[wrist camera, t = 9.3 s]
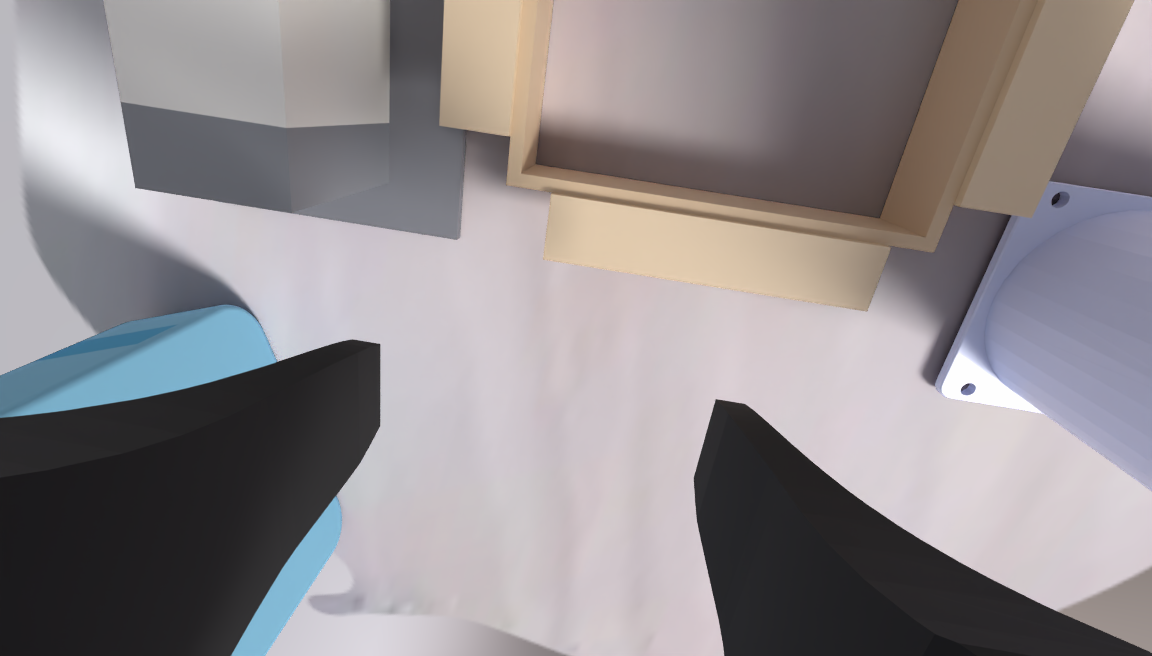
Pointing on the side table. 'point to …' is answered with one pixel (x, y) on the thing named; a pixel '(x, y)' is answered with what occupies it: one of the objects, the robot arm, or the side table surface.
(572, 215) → the carton
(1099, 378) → the robot arm
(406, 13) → the mat
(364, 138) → the capped box
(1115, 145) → the side table surface
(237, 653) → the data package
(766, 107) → the side table surface
